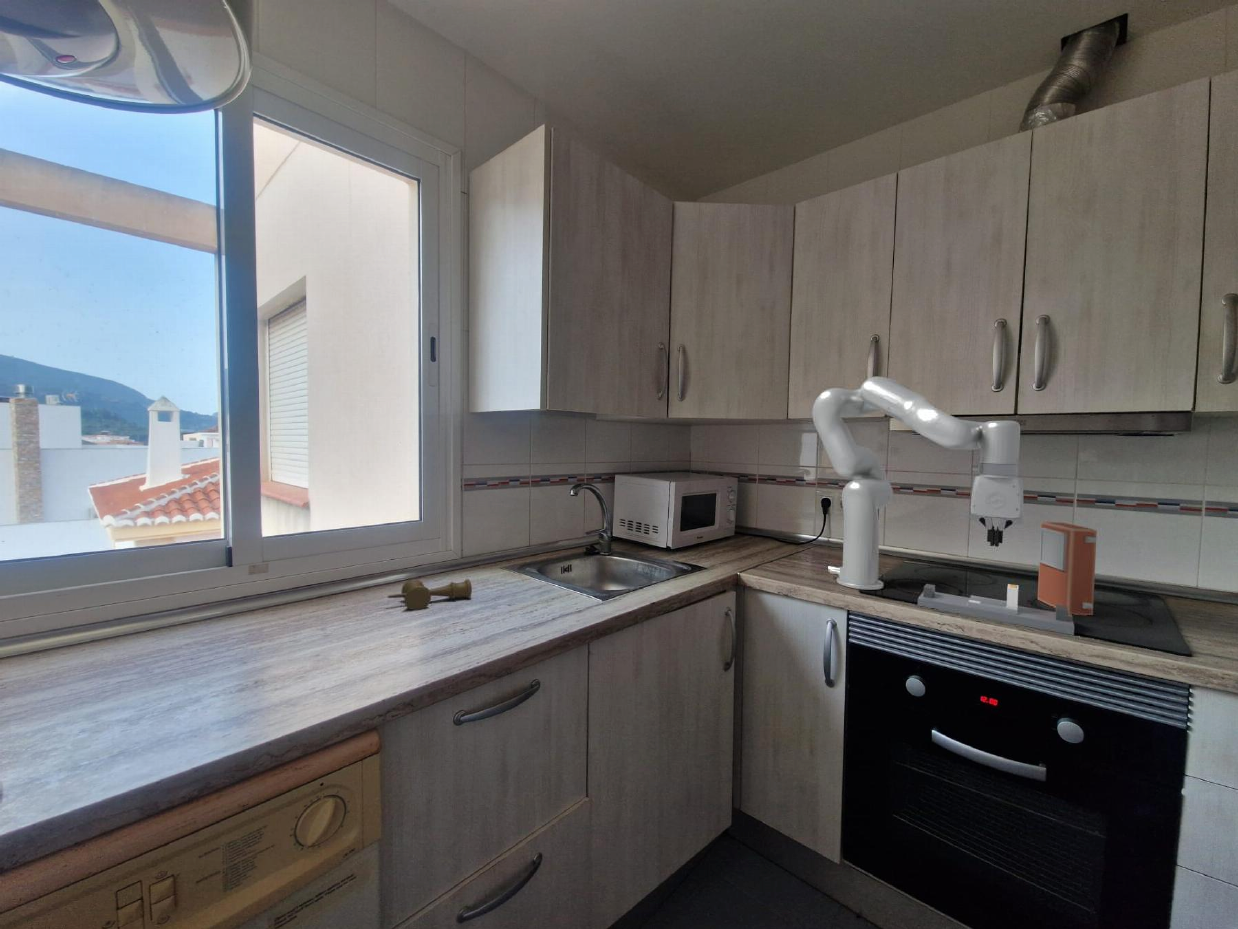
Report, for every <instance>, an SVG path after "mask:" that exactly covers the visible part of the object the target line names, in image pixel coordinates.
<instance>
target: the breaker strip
mask: <svg viewBox="0 0 1238 929" xmlns="http://www.w3.org/2000/svg"><path fill="white" fill-rule="evenodd" d="M918 605H919V606H918ZM917 606H918V607H920V606H925V607H928V608H927V609H930V608H935V609H934V610H936V609H938V610H937V611H942V612H946V611H948V613H953V614H957V613H959V614H958V615H962V616H969V617H975V618H978V619H979V618H980V619H985V620H988V621H989V620H990V621H995V622H1000V623H1006V624H1011V625H1018V626H1022V627H1028V628H1032V629H1033V628H1034V629H1039V630H1043V631H1050V632H1055V633H1060V634H1065V635H1070V636H1074V635H1075V623H1074V618H1073V615H1072V614H1068V608H1067V606H1062V605H1056V608H1055V611H1050V610H1044V609H1039V608H1034V607H1025V606H1021V605H1018V609H1017V610H1016V609H1010V608H1007V600H1001V599H996V598H989V597H982V596H979V595H977V596H976V595H972V594H971V595H970V596H969V597H966V596H960V595H955V594H949V593H942V592H937V591H936V584H929V583H926V584H925V585H924V586H923V591H922V593H921V594H920V595H919V596H918V598H917ZM925 607H924V608H925Z"/></svg>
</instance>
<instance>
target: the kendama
mask: <svg viewBox="0 0 1238 929" xmlns="http://www.w3.org/2000/svg"><path fill="white" fill-rule="evenodd" d="M472 591H473V586H472V581H471V580H470V579H467V578H466V579H465V580H464V581H461V582H454V581H451V582H450V583H449V584H446V585H444V586H440V587H435V588H431V589H429V588H428V587H426V586H425V584H423V582H422V581H420V580H419V579H410V580H407V582H406V581H405V583H404V584H403V585H402V587H401V593H396V594H390V595H387V598H388V599H398V598H402V599H403V600H404V603H405V604H404V605H405V606H406V607H407V609H409V610H412V611H418V610H419V611H420V610H425V608H427V607H428V606H429V604H430V603H431V600H432V599H431V598H432V597H448V598H450V599H452V600H454V599H455V598H458V597H460V598H465V599H471V597H472Z"/></svg>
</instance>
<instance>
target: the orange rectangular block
mask: <svg viewBox="0 0 1238 929" xmlns="http://www.w3.org/2000/svg"><path fill="white" fill-rule="evenodd" d="M1097 532H1098V531H1097V530H1096V529H1095V528H1090V527H1084V526H1081V525H1080V526H1079V525H1075V524H1071V523H1066V522H1059V521H1058V522H1055V521H1051V522H1050V521H1041V522H1040V535H1039V537H1040V538H1039V539H1040V540H1039V555H1038V556H1039V560H1038V584H1037V585H1038V586H1037V600H1039V601H1041V602H1043V603H1044V604H1047V605H1048V606H1050V607H1052V606H1053V607H1052V608H1054V609H1056V605H1062V606H1067V608H1068V614H1069V615H1072V614H1073V615H1075V616H1087V615H1094V600H1095V599H1094V598H1095V597H1094V595H1095V594H1094V593H1095V575H1096V559H1097V558H1096V557H1097V556H1096V554H1097V552H1096V551H1097V537H1098V536H1097ZM1073 615H1072V616H1073Z"/></svg>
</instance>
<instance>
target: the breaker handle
mask: <svg viewBox="0 0 1238 929" xmlns="http://www.w3.org/2000/svg"><path fill="white" fill-rule="evenodd" d="M1006 590H1007V591H1006V601H1007V608H1010V609H1016V610H1017V609H1018V606H1019V585H1017V584H1010V583H1008V584H1007V589H1006Z"/></svg>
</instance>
